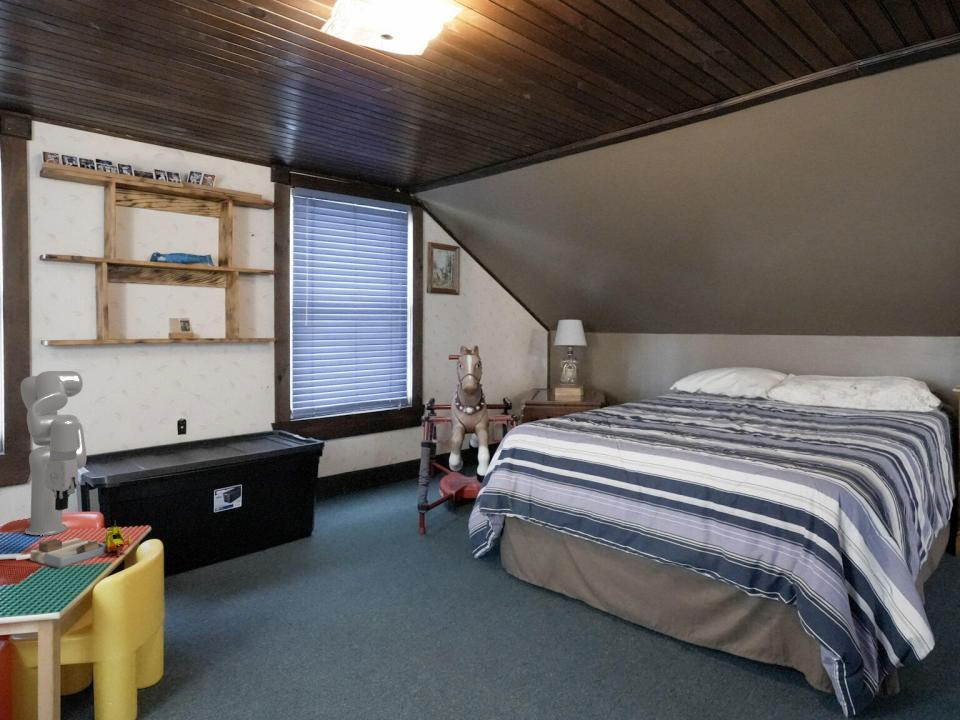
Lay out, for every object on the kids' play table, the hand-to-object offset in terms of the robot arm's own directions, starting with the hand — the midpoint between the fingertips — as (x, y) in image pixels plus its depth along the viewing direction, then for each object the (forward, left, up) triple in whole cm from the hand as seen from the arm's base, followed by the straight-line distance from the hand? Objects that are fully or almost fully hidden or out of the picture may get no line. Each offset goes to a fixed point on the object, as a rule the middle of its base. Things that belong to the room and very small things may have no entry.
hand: (61, 509), depth 204 cm
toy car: (+12, +11, -15) cm, 22 cm away
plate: (+2, -1, -15) cm, 15 cm away
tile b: (+2, -5, -12) cm, 13 cm away
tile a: (+10, +2, -11) cm, 15 cm away
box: (+10, -1, -15) cm, 18 cm away
